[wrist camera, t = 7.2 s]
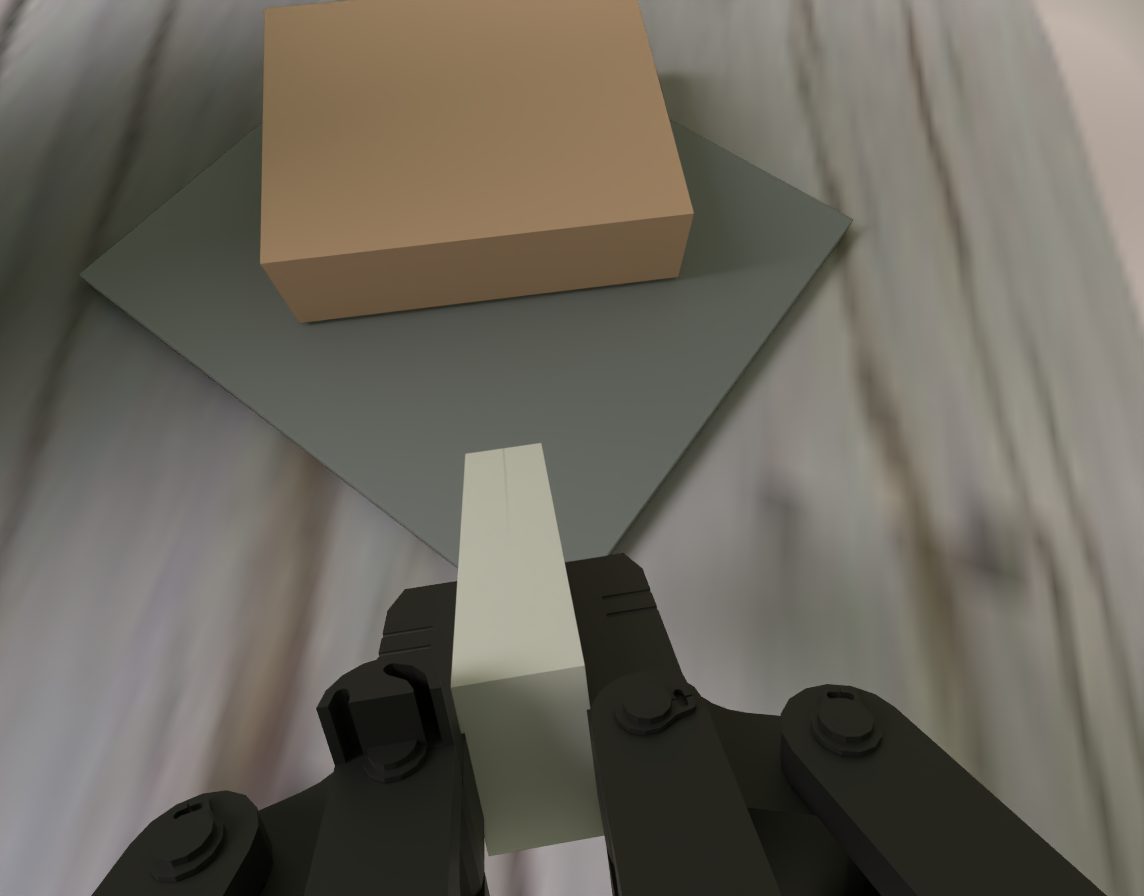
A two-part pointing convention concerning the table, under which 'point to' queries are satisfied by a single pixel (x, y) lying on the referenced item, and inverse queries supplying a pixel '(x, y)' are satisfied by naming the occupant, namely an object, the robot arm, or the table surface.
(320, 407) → the mat
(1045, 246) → the table surface
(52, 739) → the table surface
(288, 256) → the tile
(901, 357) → the table surface
